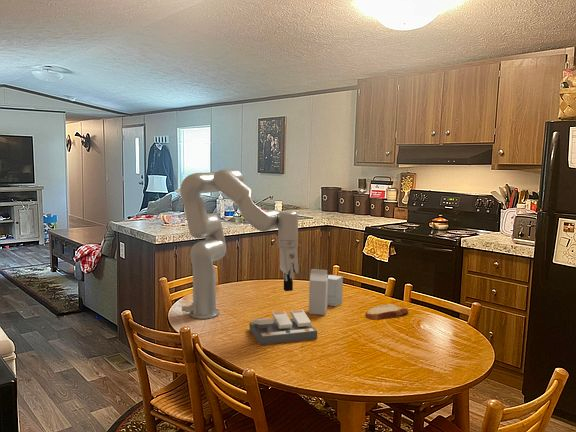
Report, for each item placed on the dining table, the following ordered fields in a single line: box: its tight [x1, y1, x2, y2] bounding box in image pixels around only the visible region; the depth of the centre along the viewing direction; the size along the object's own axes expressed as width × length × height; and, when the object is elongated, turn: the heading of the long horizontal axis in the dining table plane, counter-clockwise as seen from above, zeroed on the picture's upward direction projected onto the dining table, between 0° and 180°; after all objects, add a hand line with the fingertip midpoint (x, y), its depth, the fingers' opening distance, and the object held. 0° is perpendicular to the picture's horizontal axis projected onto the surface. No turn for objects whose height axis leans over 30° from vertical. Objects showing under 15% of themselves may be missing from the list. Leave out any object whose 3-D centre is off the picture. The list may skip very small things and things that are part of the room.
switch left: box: [252, 317, 274, 325], centre depth 183 cm, size 5×10×2 cm, turn 18°
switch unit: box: [248, 317, 318, 346], centre depth 185 cm, size 22×16×4 cm
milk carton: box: [308, 268, 329, 316], centre depth 211 cm, size 7×7×19 cm
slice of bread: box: [364, 303, 409, 321], centre depth 211 cm, size 18×18×4 cm
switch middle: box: [271, 310, 292, 329], centre depth 186 cm, size 5×10×2 cm, turn 18°
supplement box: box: [327, 274, 344, 307], centre depth 225 cm, size 7×7×13 cm
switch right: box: [289, 308, 312, 327], centre depth 188 cm, size 5×10×2 cm, turn 18°
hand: (288, 290), depth 188 cm, fingers closed
